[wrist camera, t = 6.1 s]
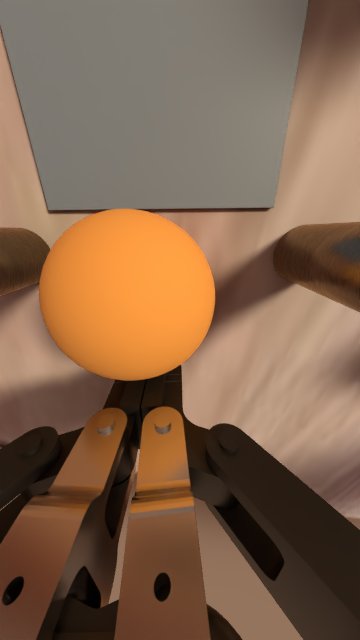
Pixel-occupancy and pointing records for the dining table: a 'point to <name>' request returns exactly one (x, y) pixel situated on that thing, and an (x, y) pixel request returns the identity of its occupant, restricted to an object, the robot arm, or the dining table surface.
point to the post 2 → (323, 260)
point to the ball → (127, 294)
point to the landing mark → (155, 98)
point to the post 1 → (20, 259)
